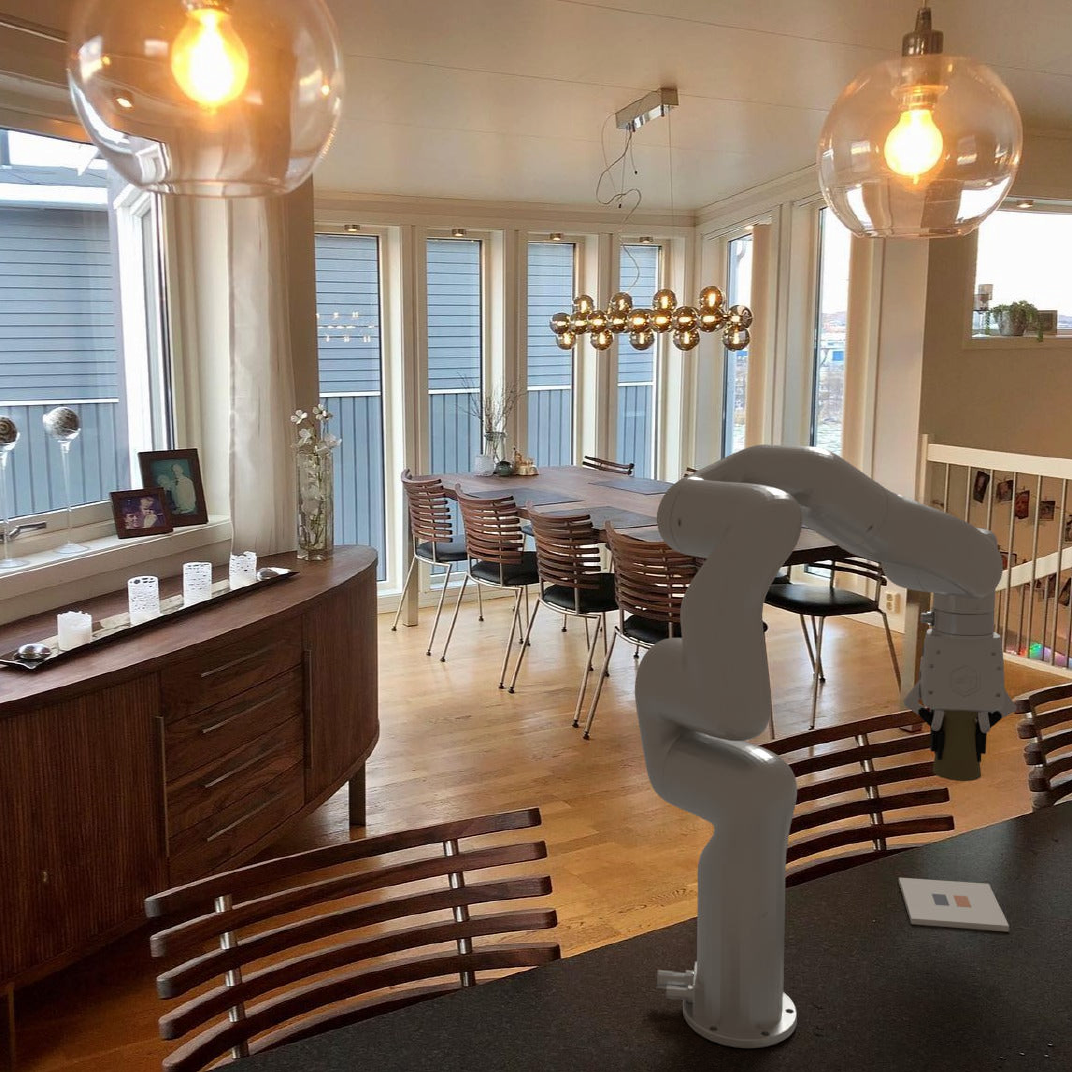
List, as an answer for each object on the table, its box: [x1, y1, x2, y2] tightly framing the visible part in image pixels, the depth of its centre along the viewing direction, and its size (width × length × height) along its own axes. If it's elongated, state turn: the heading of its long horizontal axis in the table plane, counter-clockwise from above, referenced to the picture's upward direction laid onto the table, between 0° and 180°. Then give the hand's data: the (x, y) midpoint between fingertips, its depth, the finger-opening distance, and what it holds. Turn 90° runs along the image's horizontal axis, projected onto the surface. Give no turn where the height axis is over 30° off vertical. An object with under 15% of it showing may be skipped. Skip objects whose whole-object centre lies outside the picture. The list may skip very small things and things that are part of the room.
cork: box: [932, 711, 982, 782], centre depth 143 cm, size 6×6×11 cm
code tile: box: [898, 877, 1010, 933], centre depth 146 cm, size 12×12×1 cm
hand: (957, 756), depth 143 cm, fingers closed on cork, 4 cm apart
